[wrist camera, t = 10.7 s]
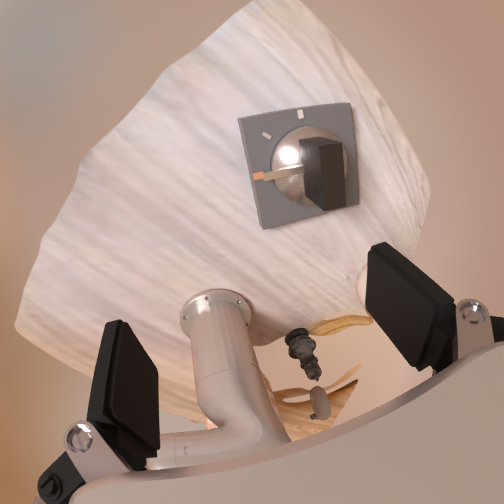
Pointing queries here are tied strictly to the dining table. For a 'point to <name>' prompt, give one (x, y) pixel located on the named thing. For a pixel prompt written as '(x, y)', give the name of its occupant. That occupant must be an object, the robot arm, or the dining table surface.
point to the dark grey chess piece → (303, 351)
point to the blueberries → (313, 417)
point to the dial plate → (261, 147)
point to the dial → (310, 167)
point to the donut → (320, 403)
